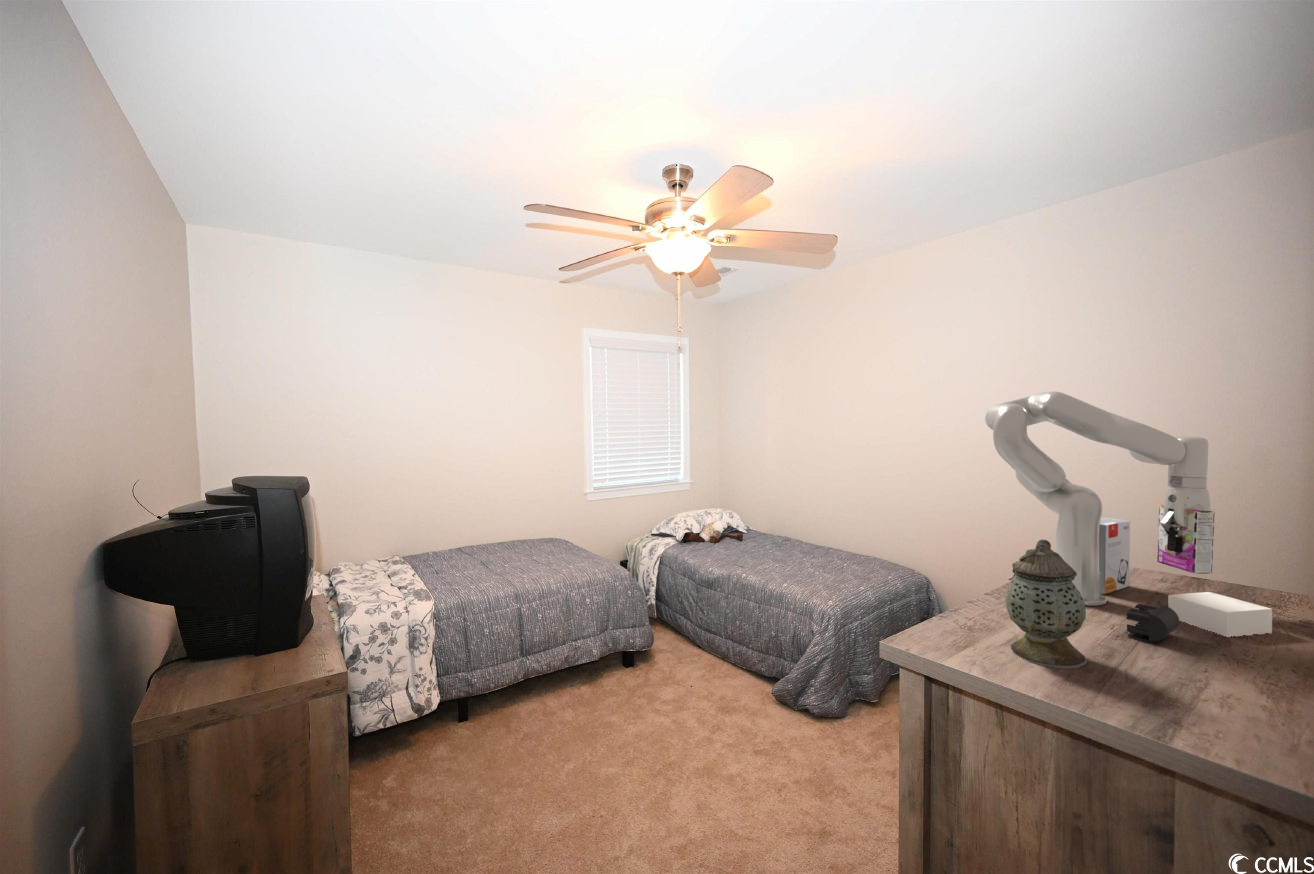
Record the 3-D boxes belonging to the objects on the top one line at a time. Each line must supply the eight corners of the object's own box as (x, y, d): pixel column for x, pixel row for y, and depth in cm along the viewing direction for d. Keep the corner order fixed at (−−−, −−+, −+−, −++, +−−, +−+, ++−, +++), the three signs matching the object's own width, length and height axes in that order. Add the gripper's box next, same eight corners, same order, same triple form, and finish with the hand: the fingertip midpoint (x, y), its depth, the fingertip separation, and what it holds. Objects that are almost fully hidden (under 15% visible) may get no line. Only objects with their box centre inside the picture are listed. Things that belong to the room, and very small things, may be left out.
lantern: (1046, 672, 113) (1045, 549, 112) (991, 645, 127) (990, 535, 126) (1104, 664, 115) (1103, 544, 115) (1043, 638, 129) (1043, 531, 129)
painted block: (1227, 638, 128) (1227, 612, 127) (1168, 618, 140) (1168, 594, 140) (1271, 634, 129) (1272, 608, 129) (1209, 615, 142) (1209, 591, 142)
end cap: (1166, 648, 123) (1166, 617, 123) (1126, 638, 129) (1126, 609, 128) (1179, 636, 129) (1179, 607, 128) (1140, 628, 134) (1140, 600, 134)
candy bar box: (1155, 562, 155) (1157, 503, 154) (1173, 562, 154) (1176, 503, 154) (1193, 574, 143) (1196, 510, 143) (1213, 574, 143) (1216, 510, 143)
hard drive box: (1105, 595, 158) (1104, 525, 158) (1074, 588, 165) (1073, 521, 164) (1130, 586, 166) (1130, 519, 165) (1100, 580, 172) (1100, 516, 172)
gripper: (1177, 485, 143) (1174, 555, 143) (1228, 484, 146) (1225, 552, 147) (1146, 482, 150) (1143, 549, 151) (1195, 481, 154) (1192, 546, 154)
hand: (1184, 550), depth 149 cm, fingers closed on candy bar box, 5 cm apart
